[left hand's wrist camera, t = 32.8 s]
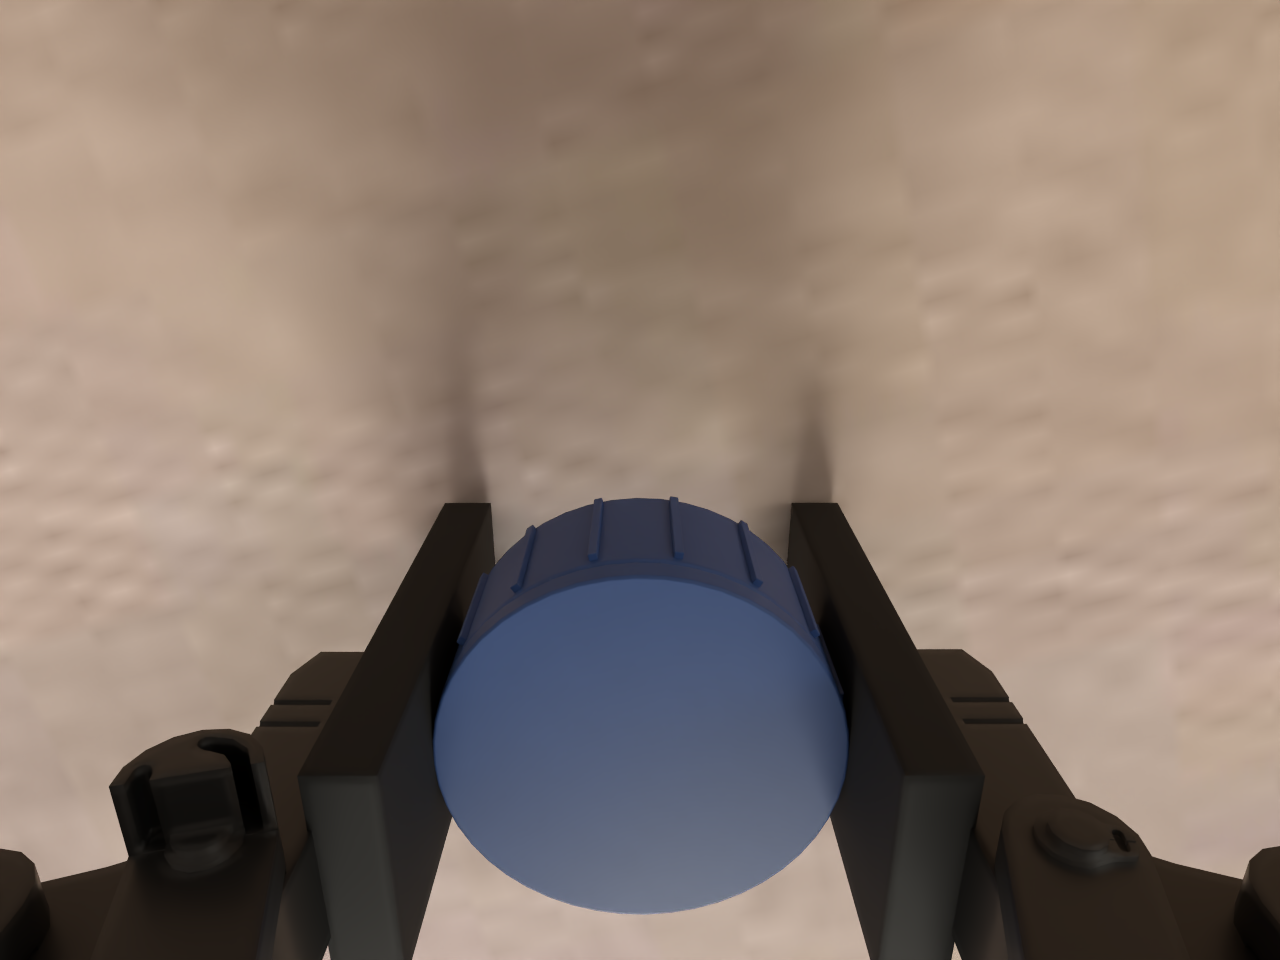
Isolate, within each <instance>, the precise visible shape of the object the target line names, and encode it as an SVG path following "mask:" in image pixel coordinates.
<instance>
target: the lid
mask: <svg viewBox="0 0 1280 960" xmlns="http://www.w3.org/2000/svg"><path fill="white" fill-rule="evenodd" d="M457 643H458V644H459V646H458V649H457V652H456V655H455V657H454V660H453V663H452V666H451V669H450V671H449V674H448V677H447V681H446V683H445V686H444V688H443V691H442V694H441V697H440V701H439V704H438V708H437V712H436V715H435V720H434V730H433V739H432V741H433V755H434V766H435V771H436V776H437V780H438V785H439V788H440V790H441V793H442V795H443V798H444V801H445V803H446V806H447V808H448V810H449V811H450V813H451V815H452V817H453V818H454V820H455V822H456V824H457V825H458V827H459V828H460V829H461V831H462V832H463V833H464V835H465V836H466V837H467V839H468V840H469V841H470V842H471V844H472V845H473V846H474V847H475V848H476V849H477V850H478V851H479V852H480V853H481V854H482V855H483V856H484V857H485V858H486V859H487V860H488V861H490V862H491V863H492V864H493V865H495V866H496V867H497V868H499V869H500V870H501V871H502V872H504V873H505V874H506V875H508V876H510V877H511V878H513V879H515V880H516V881H518V882H519V883H521V884H523V885H524V886H526V887H528V888H530V889H532V890H535V891H537V892H539V893H541V894H543V895H545V896H547V897H550V898H553V899H556V900H559V901H562V902H565V903H568V904H570V905H574V906H578V907H583V908H587V909H591V910H596V911H603V912H611V913H619V914H659V913H672V912H678V911H684V910H690V909H695V908H699V907H703V906H706V905H710V904H714V903H717V902H720V901H723V900H726V899H728V898H731V897H733V896H736V895H738V894H741V893H743V892H745V891H747V890H749V889H751V888H753V887H755V886H757V885H759V884H761V883H762V882H764V881H766V880H767V879H769V878H770V877H772V876H773V875H775V874H776V873H778V872H779V871H781V870H782V869H783V868H784V867H786V866H787V865H788V864H789V863H790V862H791V861H793V860H794V859H795V858H796V857H797V856H799V855H800V854H801V853H802V851H803V850H804V849H805V848H806V847H807V846H808V845H809V844H810V843H811V842H812V841H813V839H814V838H815V837H816V836H817V834H818V833H819V831H820V830H821V829H822V827H823V826H824V824H825V823H826V821H827V820H828V818H829V816H830V814H831V812H832V810H833V808H834V806H835V804H836V802H837V800H838V798H839V795H840V792H841V789H842V786H843V783H844V780H845V777H846V770H847V764H848V757H849V728H848V722H847V716H846V710H845V707H844V704H843V697H844V692H843V690H842V687H841V684H840V682H839V679H838V676H837V673H836V671H835V668H834V665H833V663H832V660H831V657H830V654H829V652H828V649H827V646H826V644H825V641H824V638H823V635H822V633H821V630H820V627H819V625H818V624H816V621H815V619H814V616H813V613H812V610H811V608H810V605H809V602H808V600H807V597H806V594H805V591H804V589H803V586H802V583H801V580H800V578H799V575H798V572H797V570H796V569H795V567H794V566H792V567H790V568H788V567H787V566H786V564H785V563H784V561H783V560H782V559H781V558H780V557H779V556H778V555H777V554H776V553H775V552H774V551H773V550H772V549H771V548H770V547H769V546H768V545H767V544H766V543H765V542H763V541H762V540H761V539H760V538H758V537H757V536H756V535H755V534H753V533H752V532H751V531H749V529H748V525H747V523H745V522H743V521H740V522H739V523H738V524H737V523H736V522H734V521H732V520H731V519H729V518H726V517H724V516H722V515H719V514H717V513H715V512H712V511H710V510H708V509H704V508H701V507H697V506H694V505H690V504H687V503H682V502H678V498H677V497H670V500H664V499H645V498H632V499H620V500H610V501H606V502H603V500H602V498H599V499H595V500H594V504H591V505H587V506H584V507H581V508H578V509H575V510H572V511H569V512H566V513H564V514H562V515H560V516H558V517H556V518H554V519H551V520H549V521H547V522H545V523H543V524H542V525H540V526H539V527H537V528H535V527H534V526H533V525H532V526H530V527H529V528H527V530H526V534H525V536H524V537H523V538H522V539H520V540H519V541H518V542H517V543H516V544H515V545H514V546H512V547H511V548H510V549H509V550H508V551H507V552H506V553H505V554H504V555H503V557H502V558H501V559H500V560H499V561H498V562H497V564H496V565H495V566H494V567H493V569H492V570H491V572H490V573H489V575H487V574H486V573H483V574H482V575H481V577H480V579H479V582H478V584H477V587H476V590H475V593H474V595H473V598H472V601H471V604H470V606H469V609H468V612H467V615H466V618H465V620H464V623H463V626H462V629H461V631H460V634H459V637H458V640H457Z"/></svg>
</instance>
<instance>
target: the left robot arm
mask: <svg viewBox="0 0 1280 960" xmlns="http://www.w3.org/2000/svg"><path fill="white" fill-rule="evenodd" d="M494 566H495V558H494V543H493V529H492V515H491V503H445V504H444V506H443V508H442V510H441V511H440V513H439V515H438V517H437V519H436V521H435V523H434V524H433V526H432V528H431V530H430V532H429V534H428V535H427V537H426V539H425V541H424V543H423V545H422V547H421V548H420V550H419V552H418V554H417V556H416V558H415V559H414V561H413V563H412V565H411V567H410V569H409V570H408V572H407V574H406V576H405V578H404V580H403V582H402V583H401V585H400V587H399V589H398V591H397V593H396V594H395V596H394V598H393V600H392V602H391V604H390V606H389V607H388V609H387V611H386V613H385V615H384V617H383V618H382V620H381V622H380V624H379V626H378V628H377V629H376V631H375V633H374V635H373V637H372V639H371V641H370V642H369V644H368V646H367V648H366V650H365V652H320V653H319V654H318V655H316V656H315V657H313V658H312V659H311V660H309V661H308V662H307V663H305V664H304V665H303V666H301V667H300V668H299V669H297V670H296V671H295V672H293V673H292V674H291V675H290V677H289V678H288V680H287V681H286V683H285V684H284V686H283V687H282V689H281V690H280V692H279V693H278V695H277V696H276V698H275V699H274V705H270V707H269V708H268V710H267V712H266V713H265V715H264V716H263V718H262V719H261V721H260V726H259V727H256V728H255V730H254V731H253V733H252V734H251V735H250V734H247V733H243V732H239V731H235V730H231V729H215V730H200V731H197V732H193V733H189V734H185V735H181V736H177V737H173V738H171V739H169V740H167V741H165V742H162V743H160V744H158V745H156V746H154V747H152V748H150V749H147V750H146V751H144V752H143V753H142V754H140V755H139V756H138V757H136V758H135V759H134V760H132V761H131V762H130V763H128V764H127V765H126V766H124V767H123V768H122V769H121V771H120V772H119V774H118V775H117V776H116V778H115V779H114V780H113V782H112V783H111V784H110V786H109V789H110V792H111V796H112V799H113V803H114V806H115V810H116V813H117V817H118V820H119V824H120V827H121V831H122V834H123V838H124V841H125V845H126V848H127V852H128V855H129V857H128V860H127V861H125V862H122V863H119V864H116V865H112V866H109V867H105V868H101V869H97V870H93V871H88V872H84V873H80V874H76V875H71V876H67V877H63V878H59V879H54V880H50V881H46V882H40V879H39V876H38V873H37V870H36V867H35V864H34V863H33V862H32V861H31V860H30V859H29V858H27V857H26V856H25V855H24V854H23V853H22V852H18V851H11V850H5V849H0V960H322V959H323V956H324V954H325V951H326V949H327V946H328V947H329V952H330V958H331V960H412V957H413V954H414V950H415V947H416V943H417V939H418V936H419V932H420V929H421V925H422V922H423V918H424V915H425V911H426V907H427V904H428V900H429V897H430V893H431V890H432V886H433V883H434V879H435V876H436V872H437V868H438V865H439V861H440V858H441V854H442V851H443V847H444V844H445V840H446V836H447V833H448V829H449V826H450V822H451V819H452V815H451V813H450V811H449V810H448V808H447V806H446V803H445V801H444V798H443V795H442V793H441V790H440V788H439V785H438V780H437V776H436V771H435V766H434V755H433V741H432V739H433V730H434V720H435V715H436V712H437V708H438V704H439V701H440V697H441V694H442V691H443V688H444V686H445V683H446V681H447V677H448V674H449V671H450V669H451V666H452V663H453V660H454V657H455V655H456V652H457V649H458V646H459V644H458V643H457V640H458V637H459V634H460V631H461V629H462V626H463V623H464V620H465V618H466V615H467V612H468V609H469V606H470V604H471V601H472V598H473V595H474V593H475V590H476V587H477V584H478V582H479V579H480V577H481V575H482V574H483V573H486V574H487V575H489V573H490V572H491V570H492V569H493V567H494ZM792 566H794V567H795V569H796V570H797V572H798V575H799V578H800V580H801V583H802V586H803V589H804V591H805V594H806V597H807V600H808V602H809V605H810V608H811V610H812V613H813V616H814V619H815V621H816V624H818V625H819V627H820V630H821V633H822V635H823V638H824V641H825V644H826V646H827V649H828V652H829V654H830V657H831V660H832V663H833V665H834V668H835V671H836V673H837V676H838V679H839V682H840V684H841V687H842V690H843V692H844V697H843V704H844V707H845V710H846V716H847V722H848V728H849V757H848V764H847V770H846V777H845V780H844V783H843V786H842V789H841V792H840V795H839V798H838V800H837V802H836V804H835V806H834V808H833V810H832V812H831V814H830V818H831V821H832V825H833V828H834V832H835V836H836V839H837V843H838V846H839V850H840V853H841V857H842V860H843V864H844V868H845V871H846V875H847V878H848V882H849V885H850V889H851V892H852V896H853V900H854V903H855V907H856V910H857V914H858V917H859V921H860V924H861V928H862V932H863V935H864V939H865V942H866V946H867V949H868V953H869V957H870V960H951V959H952V953H953V948H954V942H955V944H956V946H957V949H958V951H959V954H960V956H961V959H962V960H1280V846H1278V847H1272V848H1266V849H1262V850H1261V851H1260V852H1259V853H1258V854H1256V855H1255V856H1254V857H1253V858H1252V859H1251V860H1250V861H1249V864H1248V867H1247V869H1246V872H1245V875H1244V878H1243V880H1242V879H1238V878H1234V877H1229V876H1225V875H1221V874H1217V873H1212V872H1208V871H1204V870H1200V869H1195V868H1191V867H1187V866H1183V865H1178V864H1175V863H1171V862H1168V861H1165V860H1162V859H1158V858H1155V857H1152V856H1151V854H1150V852H1149V851H1148V849H1147V848H1146V846H1145V845H1144V843H1143V841H1142V840H1141V838H1140V837H1139V835H1138V834H1137V833H1135V832H1134V831H1133V830H1132V829H1131V828H1130V827H1128V826H1127V825H1126V824H1125V823H1124V822H1123V821H1121V820H1120V819H1119V818H1118V817H1117V816H1115V815H1113V814H1111V813H1109V812H1107V811H1105V810H1103V809H1101V808H1099V807H1097V806H1096V805H1094V804H1092V803H1089V802H1086V801H1082V800H1079V799H1076V798H1075V797H1074V795H1073V794H1072V792H1071V790H1070V789H1069V787H1068V786H1067V784H1066V783H1065V781H1064V780H1063V778H1062V777H1061V775H1060V774H1059V772H1058V771H1057V769H1056V768H1055V766H1054V765H1053V763H1052V762H1051V760H1050V759H1049V757H1048V756H1047V754H1046V753H1045V751H1044V750H1043V748H1042V747H1041V745H1040V744H1039V742H1038V741H1037V739H1036V738H1035V736H1034V734H1033V733H1032V731H1031V730H1030V728H1029V727H1028V725H1027V724H1023V718H1022V716H1021V715H1020V713H1019V712H1018V710H1017V709H1016V707H1015V706H1014V704H1013V703H1012V702H1009V697H1008V695H1007V694H1006V692H1005V691H1004V689H1003V688H1002V686H1001V685H1000V683H999V682H998V680H997V678H996V677H995V675H994V674H993V672H992V671H991V670H989V669H988V668H986V667H985V666H984V665H982V664H981V663H980V662H978V661H977V660H976V659H974V658H973V657H972V656H970V655H969V654H968V653H966V652H965V651H963V650H962V649H916V647H915V645H914V643H913V642H912V640H911V638H910V636H909V634H908V632H907V630H906V629H905V627H904V625H903V623H902V621H901V619H900V618H899V616H898V614H897V612H896V610H895V608H894V606H893V605H892V603H891V601H890V599H889V597H888V595H887V594H886V592H885V590H884V588H883V586H882V584H881V582H880V581H879V579H878V577H877V575H876V573H875V571H874V570H873V568H872V566H871V564H870V562H869V560H868V559H867V557H866V555H865V553H864V551H863V549H862V547H861V546H860V544H859V542H858V540H857V538H856V536H855V535H854V533H853V531H852V529H851V527H850V525H849V523H848V522H847V520H846V518H845V516H844V514H843V512H842V511H841V509H840V507H839V505H838V503H792V507H791V521H790V535H789V549H788V563H787V567H788V568H790V567H792Z"/></svg>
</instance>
